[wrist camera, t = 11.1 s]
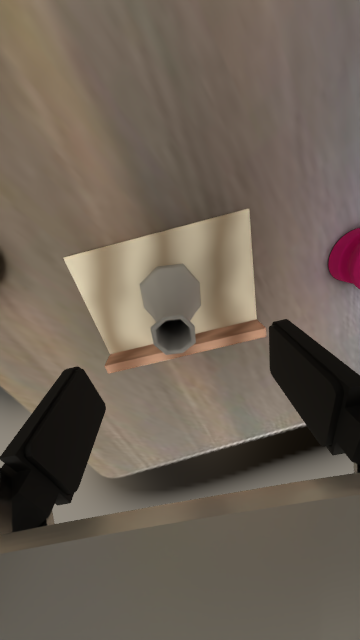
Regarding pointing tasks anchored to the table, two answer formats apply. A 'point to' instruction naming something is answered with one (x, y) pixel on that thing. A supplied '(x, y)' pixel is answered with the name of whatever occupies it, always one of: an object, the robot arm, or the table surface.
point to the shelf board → (160, 250)
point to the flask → (171, 306)
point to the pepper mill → (346, 258)
